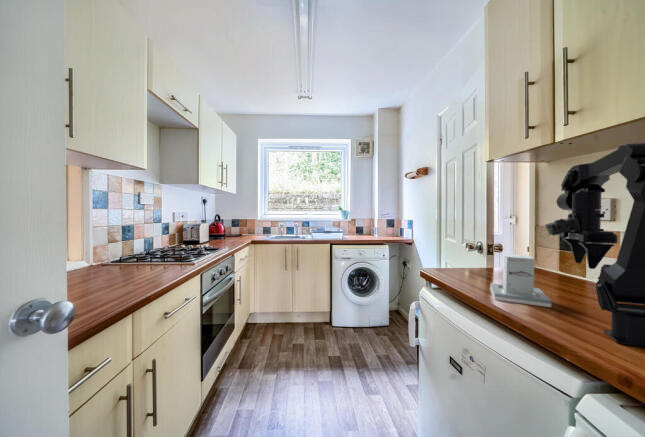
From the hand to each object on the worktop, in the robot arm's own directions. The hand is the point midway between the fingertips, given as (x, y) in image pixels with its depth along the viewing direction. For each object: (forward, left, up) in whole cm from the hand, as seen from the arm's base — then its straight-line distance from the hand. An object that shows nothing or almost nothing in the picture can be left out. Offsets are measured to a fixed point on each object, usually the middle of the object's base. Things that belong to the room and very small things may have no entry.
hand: (584, 265), depth 73 cm
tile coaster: (+7, +14, -13) cm, 20 cm away
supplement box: (+7, +14, -12) cm, 20 cm away
